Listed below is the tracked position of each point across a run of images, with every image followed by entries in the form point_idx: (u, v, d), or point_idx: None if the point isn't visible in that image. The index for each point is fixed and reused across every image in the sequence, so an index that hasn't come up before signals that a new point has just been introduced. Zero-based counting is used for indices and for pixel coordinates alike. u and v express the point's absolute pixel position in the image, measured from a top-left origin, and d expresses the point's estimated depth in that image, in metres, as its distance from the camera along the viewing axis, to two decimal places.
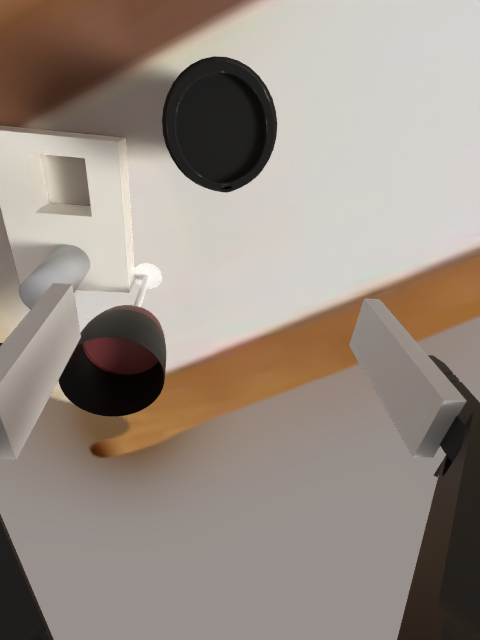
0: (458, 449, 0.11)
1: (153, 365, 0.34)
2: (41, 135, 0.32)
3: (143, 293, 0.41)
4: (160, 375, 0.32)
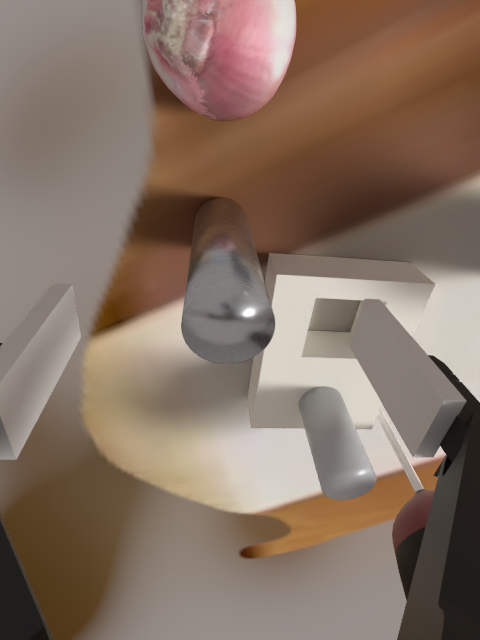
0: (458, 449, 0.11)
1: None
2: (347, 279, 0.26)
3: (394, 434, 0.34)
4: None
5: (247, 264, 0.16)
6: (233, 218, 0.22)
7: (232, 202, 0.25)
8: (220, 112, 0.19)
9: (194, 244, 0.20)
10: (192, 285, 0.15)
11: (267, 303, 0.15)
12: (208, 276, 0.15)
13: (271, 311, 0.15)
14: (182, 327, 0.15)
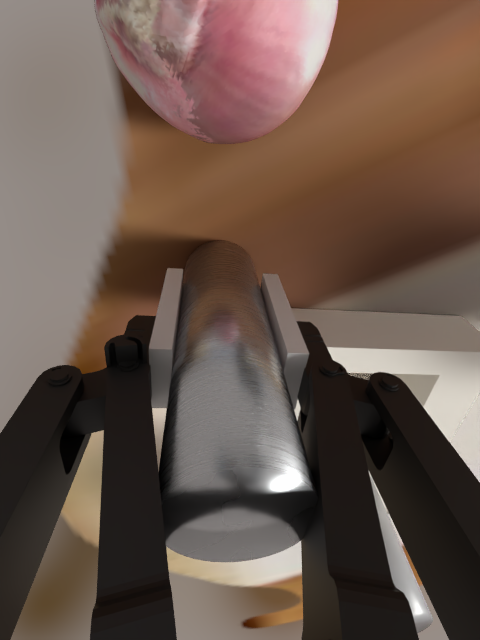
0: (308, 403, 0.12)
1: None
2: (389, 350, 0.19)
3: None
4: None
5: (266, 389, 0.10)
6: (238, 280, 0.15)
7: (235, 248, 0.19)
8: (219, 133, 0.12)
9: (181, 326, 0.14)
10: (173, 438, 0.09)
11: (309, 487, 0.08)
12: (201, 430, 0.08)
13: (315, 497, 0.08)
14: None
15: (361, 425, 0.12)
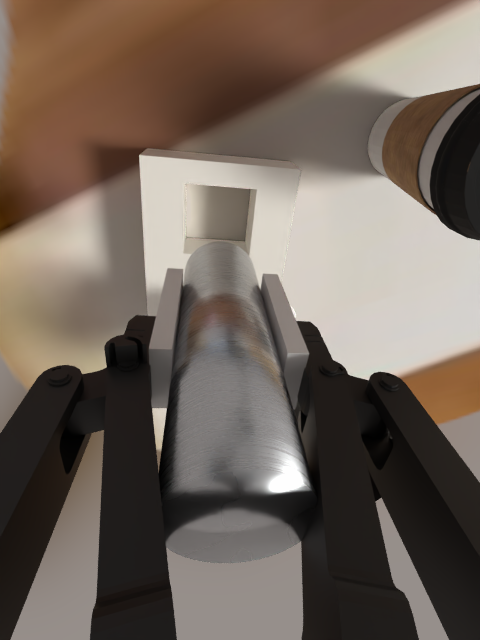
0: (307, 403, 0.12)
1: None
2: (211, 162, 0.26)
3: None
4: None
5: (266, 390, 0.10)
6: (238, 280, 0.15)
7: (235, 248, 0.19)
8: None
9: (181, 326, 0.14)
10: (173, 439, 0.09)
11: (308, 488, 0.08)
12: (201, 432, 0.08)
13: (314, 498, 0.08)
14: None
15: (362, 425, 0.12)
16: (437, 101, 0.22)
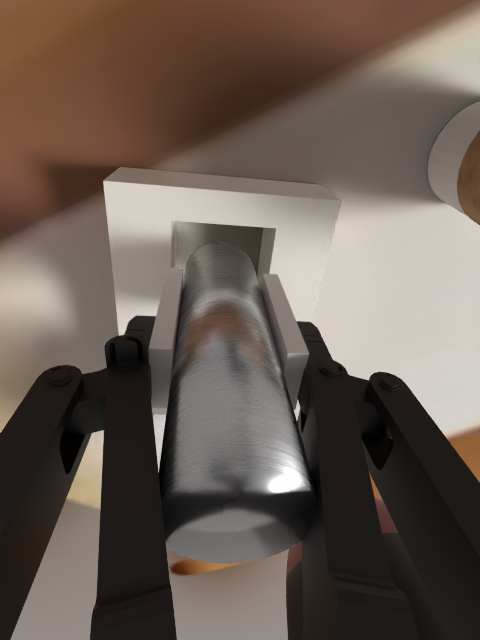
0: (307, 403, 0.12)
1: None
2: (210, 191, 0.18)
3: None
4: None
5: (266, 390, 0.10)
6: (238, 281, 0.15)
7: (235, 249, 0.19)
8: None
9: (181, 327, 0.14)
10: (173, 439, 0.09)
11: (308, 488, 0.08)
12: (201, 432, 0.08)
13: (315, 498, 0.08)
14: None
15: (361, 425, 0.12)
16: None
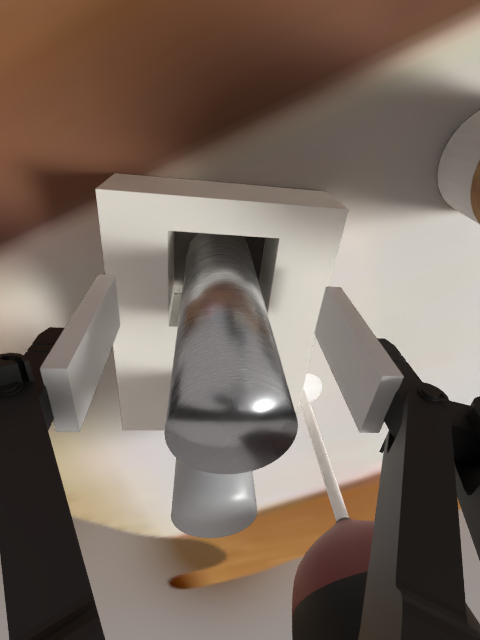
0: (398, 425, 0.12)
1: None
2: (209, 200, 0.17)
3: (321, 437, 0.25)
4: None
5: (256, 335, 0.12)
6: (234, 257, 0.18)
7: None
8: None
9: (185, 294, 0.16)
10: (180, 370, 0.11)
11: (287, 402, 0.10)
12: (203, 361, 0.11)
13: (292, 412, 0.10)
14: (166, 435, 0.10)
15: (462, 453, 0.11)
16: None
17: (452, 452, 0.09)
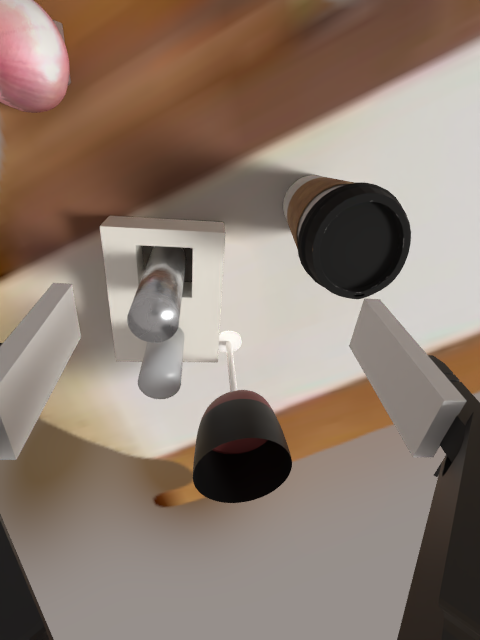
0: (458, 449, 0.11)
1: (260, 444, 0.36)
2: (155, 230, 0.34)
3: (233, 364, 0.42)
4: (275, 458, 0.33)
5: (166, 287, 0.29)
6: (169, 257, 0.35)
7: None
8: (21, 105, 0.28)
9: (142, 275, 0.33)
10: (134, 299, 0.28)
11: (172, 308, 0.28)
12: (141, 294, 0.28)
13: (175, 312, 0.28)
14: (127, 322, 0.28)
15: None
16: (310, 191, 0.30)
17: None
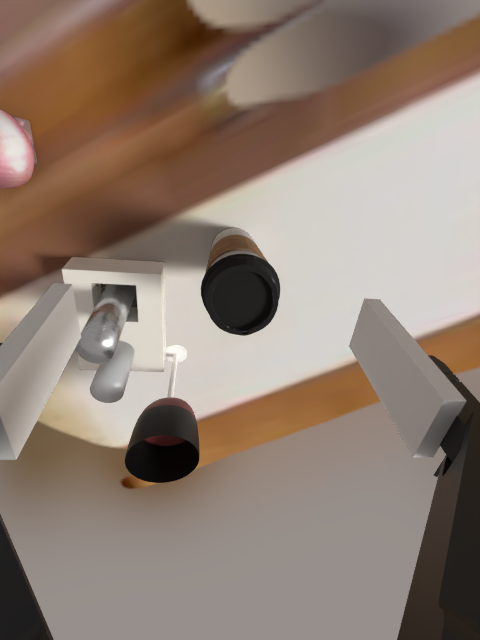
0: (458, 449, 0.11)
1: (186, 439, 0.46)
2: (105, 272, 0.44)
3: (175, 374, 0.52)
4: (193, 450, 0.43)
5: (107, 321, 0.39)
6: (117, 292, 0.45)
7: None
8: None
9: None
10: None
11: (108, 339, 0.37)
12: (86, 328, 0.38)
13: (110, 342, 0.38)
14: (76, 348, 0.38)
15: None
16: (217, 251, 0.39)
17: None
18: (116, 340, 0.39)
